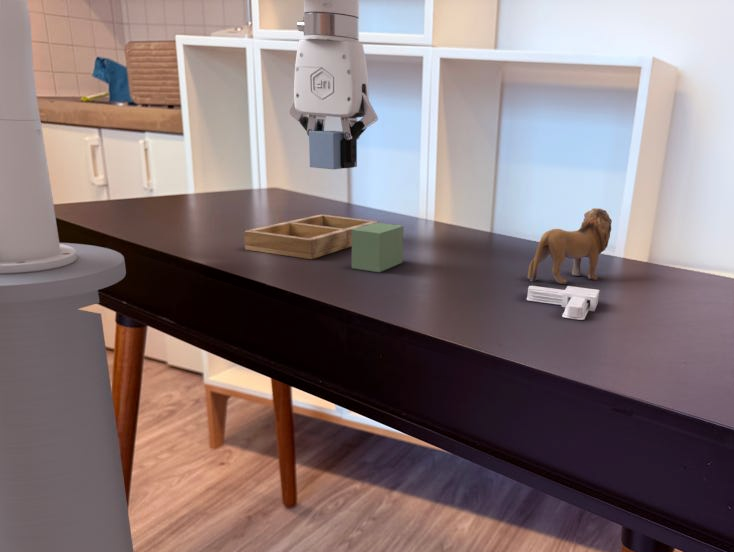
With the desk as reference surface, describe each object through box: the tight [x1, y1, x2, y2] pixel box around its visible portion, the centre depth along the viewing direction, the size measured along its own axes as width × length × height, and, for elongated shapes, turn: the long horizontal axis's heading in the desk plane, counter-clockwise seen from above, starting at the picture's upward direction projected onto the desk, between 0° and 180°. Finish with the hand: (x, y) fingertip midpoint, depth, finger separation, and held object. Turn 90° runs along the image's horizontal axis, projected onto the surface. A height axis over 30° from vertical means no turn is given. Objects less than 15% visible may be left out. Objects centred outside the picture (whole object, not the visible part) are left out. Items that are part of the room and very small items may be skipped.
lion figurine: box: [527, 207, 613, 285], centre depth 87 cm, size 15×5×9 cm, turn 136°
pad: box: [351, 222, 404, 273], centre depth 87 cm, size 7×4×5 cm, turn 162°
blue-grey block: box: [308, 130, 358, 170], centre depth 99 cm, size 7×4×5 cm, turn 162°
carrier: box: [243, 214, 380, 260], centre depth 99 cm, size 20×10×3 cm, turn 162°
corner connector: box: [526, 285, 600, 321], centre depth 74 cm, size 8×8×2 cm
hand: (333, 164), depth 100 cm, fingers closed on blue-grey block, 4 cm apart
